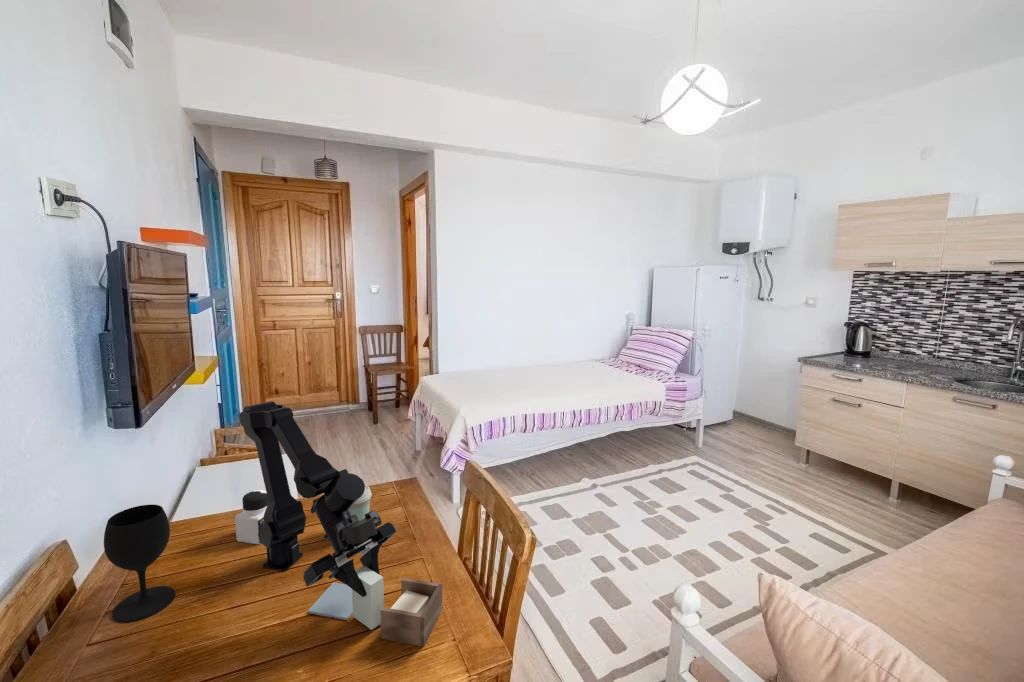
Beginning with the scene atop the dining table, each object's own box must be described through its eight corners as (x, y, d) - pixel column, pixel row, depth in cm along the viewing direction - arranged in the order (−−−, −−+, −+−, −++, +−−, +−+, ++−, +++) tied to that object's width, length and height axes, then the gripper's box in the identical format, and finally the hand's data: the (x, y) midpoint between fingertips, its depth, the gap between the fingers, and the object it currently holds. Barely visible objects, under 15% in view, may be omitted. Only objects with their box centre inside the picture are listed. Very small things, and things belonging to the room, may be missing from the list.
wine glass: (104, 629, 87) (93, 534, 84) (120, 596, 96) (111, 508, 93) (170, 612, 92) (161, 521, 89) (179, 582, 101) (172, 498, 98)
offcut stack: (388, 632, 88) (388, 611, 87) (405, 609, 94) (404, 589, 94) (416, 639, 86) (416, 618, 86) (431, 615, 92) (431, 595, 92)
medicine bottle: (259, 545, 115) (257, 501, 114) (235, 541, 117) (232, 498, 115) (279, 530, 122) (277, 488, 121) (256, 527, 124) (254, 485, 122)
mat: (307, 612, 92) (307, 610, 92) (333, 584, 101) (333, 582, 101) (347, 620, 91) (347, 618, 90) (370, 590, 99) (369, 588, 99)
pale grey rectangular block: (352, 616, 91) (351, 573, 89) (365, 607, 93) (364, 565, 92) (371, 629, 87) (370, 585, 86) (384, 620, 90) (383, 577, 88)
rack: (381, 638, 86) (380, 610, 85) (403, 603, 95) (402, 577, 95) (424, 646, 84) (424, 617, 84) (442, 610, 94) (442, 584, 93)
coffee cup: (360, 519, 128) (358, 479, 127) (379, 529, 123) (378, 488, 122) (333, 532, 121) (331, 491, 120) (352, 544, 116) (350, 500, 115)
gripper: (309, 523, 82) (347, 604, 77) (390, 486, 97) (426, 552, 92) (288, 548, 87) (322, 625, 82) (368, 509, 102) (401, 572, 98)
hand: (372, 591), depth 89 cm, fingers closed on pale grey rectangular block, 3 cm apart
